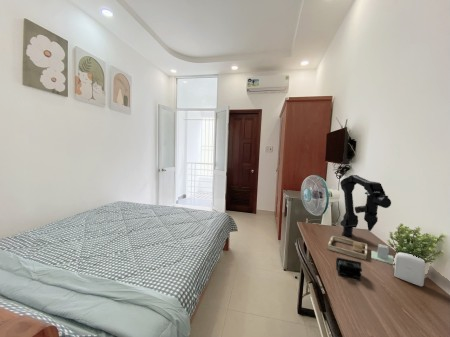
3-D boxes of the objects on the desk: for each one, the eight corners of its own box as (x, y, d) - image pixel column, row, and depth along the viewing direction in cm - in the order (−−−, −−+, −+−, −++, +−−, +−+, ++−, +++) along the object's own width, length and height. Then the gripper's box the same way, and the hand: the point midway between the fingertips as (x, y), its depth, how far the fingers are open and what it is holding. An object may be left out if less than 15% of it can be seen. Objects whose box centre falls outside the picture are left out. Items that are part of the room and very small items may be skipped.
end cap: (358, 272, 100) (359, 259, 100) (362, 281, 94) (363, 267, 93) (335, 267, 104) (336, 255, 103) (337, 275, 98) (338, 262, 97)
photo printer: (392, 276, 98) (395, 251, 97) (395, 273, 101) (397, 249, 99) (422, 288, 90) (426, 261, 89) (424, 284, 93) (427, 258, 92)
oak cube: (352, 247, 126) (353, 241, 126) (360, 249, 125) (361, 243, 124) (353, 250, 123) (354, 244, 122) (361, 252, 121) (362, 245, 121)
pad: (371, 251, 122) (371, 250, 122) (393, 257, 116) (393, 256, 116) (371, 258, 114) (371, 257, 114) (394, 264, 108) (394, 263, 108)
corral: (331, 239, 138) (332, 235, 137) (367, 248, 126) (367, 244, 126) (327, 249, 124) (327, 245, 123) (366, 260, 112) (366, 255, 112)
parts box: (377, 253, 118) (378, 243, 118) (387, 256, 116) (388, 245, 115) (377, 257, 115) (378, 246, 114) (387, 259, 112) (388, 248, 111)
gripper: (357, 198, 135) (355, 221, 137) (355, 203, 120) (352, 229, 121) (378, 201, 129) (375, 225, 130) (378, 207, 114) (375, 234, 115)
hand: (369, 228), depth 124 cm, fingers open, 9 cm apart
